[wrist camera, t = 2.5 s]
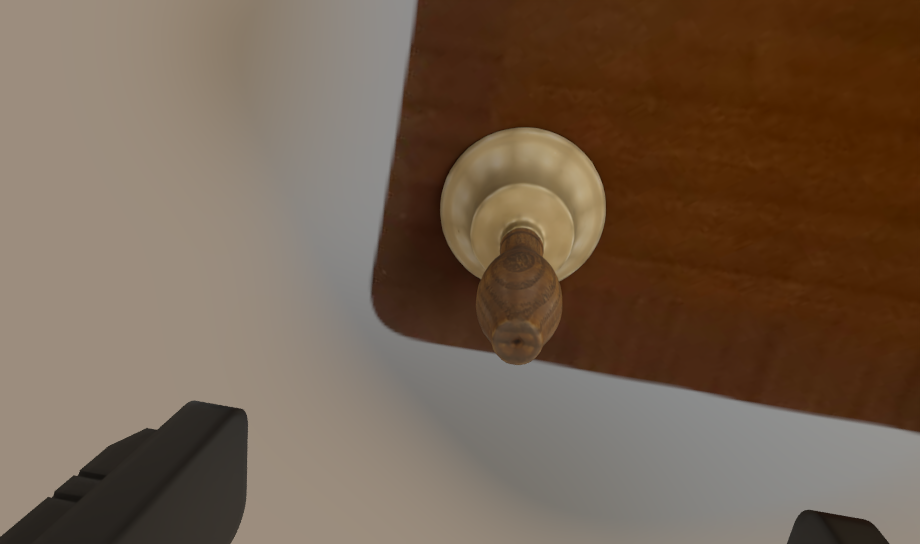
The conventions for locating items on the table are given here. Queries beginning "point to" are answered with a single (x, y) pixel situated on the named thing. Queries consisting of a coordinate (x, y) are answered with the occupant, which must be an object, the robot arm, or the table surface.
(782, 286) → the table surface
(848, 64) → the table surface
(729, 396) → the table surface
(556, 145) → the hand bell
